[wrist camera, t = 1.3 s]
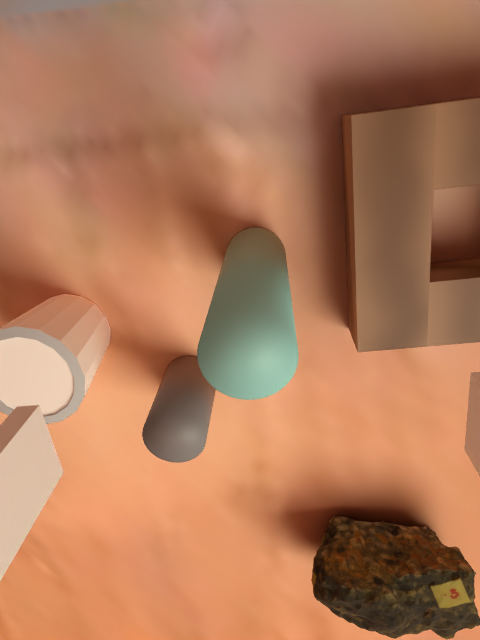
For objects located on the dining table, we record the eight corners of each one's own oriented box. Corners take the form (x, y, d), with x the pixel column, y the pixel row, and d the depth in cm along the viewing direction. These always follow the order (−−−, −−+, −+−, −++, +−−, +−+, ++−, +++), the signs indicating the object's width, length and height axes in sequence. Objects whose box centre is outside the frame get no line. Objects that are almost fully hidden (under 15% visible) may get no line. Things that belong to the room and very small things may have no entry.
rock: (333, 678, 36) (329, 636, 32) (301, 565, 44) (293, 517, 39) (482, 636, 37) (499, 589, 32) (425, 532, 44) (433, 481, 40)
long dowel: (230, 287, 32) (205, 403, 19) (222, 230, 30) (189, 315, 18) (287, 281, 32) (301, 395, 19) (282, 223, 30) (294, 305, 17)
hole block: (348, 329, 33) (357, 352, 30) (341, 115, 27) (351, 115, 24) (557, 310, 31) (590, 332, 28) (594, 80, 26) (641, 76, 23)
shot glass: (17, 286, 33) (-44, 328, 26) (111, 284, 32) (72, 325, 26) (38, 370, 36) (-11, 426, 29) (125, 369, 35) (94, 425, 29)
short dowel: (170, 402, 36) (149, 464, 30) (160, 357, 35) (136, 413, 28) (220, 398, 36) (210, 460, 29) (212, 353, 34) (200, 408, 28)
